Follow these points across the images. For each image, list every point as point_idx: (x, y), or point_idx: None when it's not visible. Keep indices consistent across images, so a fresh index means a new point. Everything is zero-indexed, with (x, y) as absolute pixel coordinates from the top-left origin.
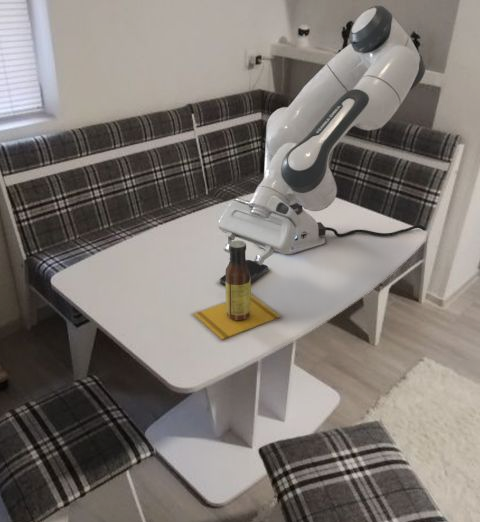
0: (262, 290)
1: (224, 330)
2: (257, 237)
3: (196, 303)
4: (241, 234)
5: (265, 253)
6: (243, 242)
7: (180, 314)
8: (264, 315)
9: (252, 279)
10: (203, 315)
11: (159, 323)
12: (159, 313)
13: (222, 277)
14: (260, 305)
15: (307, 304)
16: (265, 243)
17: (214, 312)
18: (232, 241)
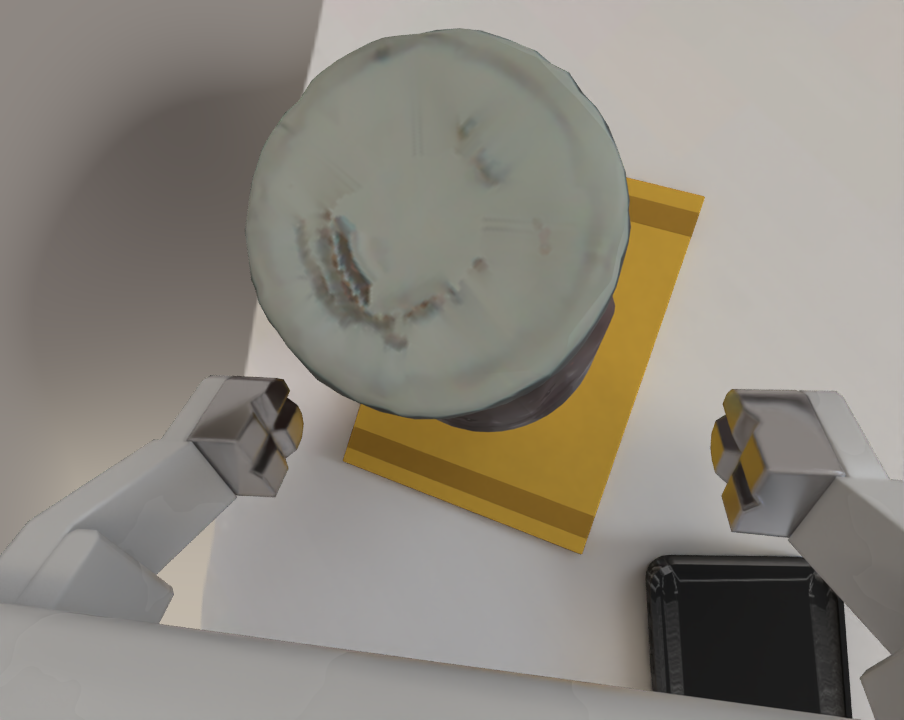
0: (556, 633)
1: None
2: (163, 708)
3: (776, 296)
4: (657, 710)
5: (98, 481)
6: (356, 362)
7: (770, 154)
8: (402, 418)
9: (657, 689)
10: (650, 218)
11: (803, 15)
12: (882, 79)
13: (839, 606)
14: (468, 484)
15: (304, 636)
16: (12, 611)
17: (621, 279)
18: (605, 243)
